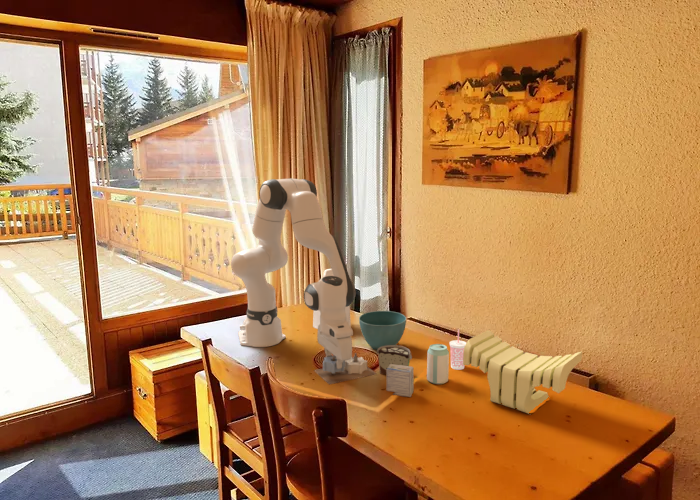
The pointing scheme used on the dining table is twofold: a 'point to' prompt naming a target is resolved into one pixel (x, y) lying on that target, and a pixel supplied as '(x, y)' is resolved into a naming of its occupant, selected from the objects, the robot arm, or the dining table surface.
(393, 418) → the dining table surface
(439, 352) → the can
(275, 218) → the robot arm
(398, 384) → the medicine box
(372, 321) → the teal bowl
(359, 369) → the cream gear
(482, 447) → the dining table surface
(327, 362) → the blue gear
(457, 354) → the beverage cup
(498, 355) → the slatted curved stool
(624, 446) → the dining table surface
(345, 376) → the gear board
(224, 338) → the dining table surface
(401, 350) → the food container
